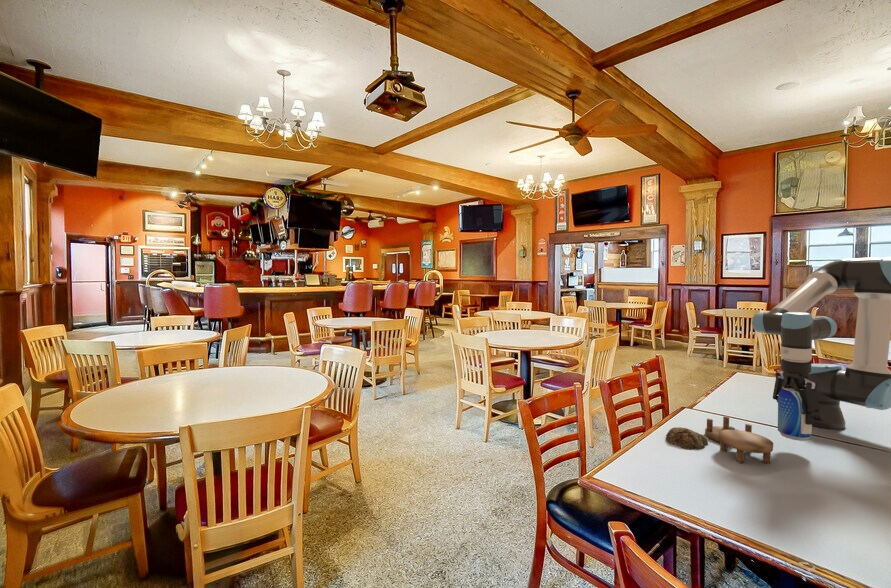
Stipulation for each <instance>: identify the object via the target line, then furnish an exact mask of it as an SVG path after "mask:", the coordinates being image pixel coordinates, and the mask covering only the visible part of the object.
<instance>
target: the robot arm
mask: <svg viewBox="0 0 891 588" xmlns="http://www.w3.org/2000/svg"><path fill="white" fill-rule="evenodd" d="M848 289H849V290H853V295H855V296H856V298H858V305H857V312H856V313H857V314H856V315H857V316H856V324H855V325H856V326H855V334H854V343H853V344H854V346H853V355H852V362H851V363H850V364H848V365H846V366H845V370H843V367H842V366H841V365H840V364H835V363H812V362H811V361H812V360H813V358H812V357H813V356H812V355H813V353H812V352H813V350H812V349H813V348H812V347H813V346H812V343H813V341H815V340H825V339H828V338H831V337H833V336H834V335H836V333H837V330H838V325H837V322H836V321H835V320H834V319H832V318H831V317H828V316H824V315H816V316H813V315H812V314H811V313H809V312H807V311H809V310H810V309H811V307H813V306H815V304H816V303H817V302H820V300H822V298H823V297H825V296H826V295H831V294H832V293H834V292H836V291H837V290H848ZM751 326H752V329H753V330H754V331H755V332H758V333H761V334H765V335H766V334H768V335H775V336H780V338H781V339H780V340H781V343H780V345H781V347H780V352H781V353H780V358H782V359H780V370H781V371H776V372H774V373H775V374H774V375H775V382H774V388H773V393H772V399H773V400H775V401H776V402H777V404H778V393H779V392H780V391H781V389H782V387H784V388H794V389H795V391H797V392H799V394H800V397H801V399H802V409H803V413H801V433H802V434H812V432H813V427H817V428H821V429H822V428H823V429H831V430H841V429H845V428H846V419H845V418H844V414H843V412H842V408H841V407H840V405H841V404H840V403H841V402H843V403H847V404H853V405H856V406H860V407H861V406H862V407H865V408H867V409H874V410H879V411H885V410H889V409H891V370H890V369H889V368H888V362H889V350H890V342H891V341H890V340H891V256H879V257H878V256H876V257H858V258H857V257H854V258H851V257H850V258H849V257H847V258H841V259H837V260H834V261H832V262H828V263H826V264H824V265H822V266H820V267H819V268H817V269H815V270H814V271H812V272H811V273H810V274H809V275H808V276H807V277H806V281H804V283H802V284H801V285H800V286H799V287H797V289H795V290H793V292H791V293H790V294H789V295H788V296H786V297H785V298H784V299H783V300H782V301H780V302H779V303H778V304H777V305H775V306H774V307H773V308H771V310H769V311H768V312H756V313H755V314H754V315H753V316H752V318H751ZM803 388H804V390H800V389H803Z"/></svg>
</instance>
